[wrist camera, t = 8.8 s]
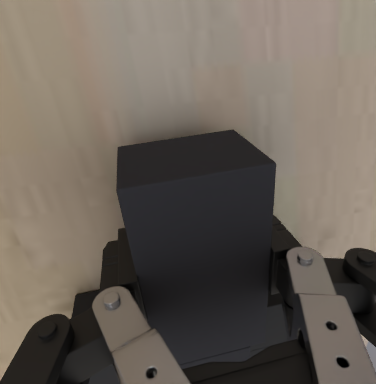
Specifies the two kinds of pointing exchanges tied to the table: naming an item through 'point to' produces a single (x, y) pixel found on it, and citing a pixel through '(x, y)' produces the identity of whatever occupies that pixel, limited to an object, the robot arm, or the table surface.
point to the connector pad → (200, 241)
